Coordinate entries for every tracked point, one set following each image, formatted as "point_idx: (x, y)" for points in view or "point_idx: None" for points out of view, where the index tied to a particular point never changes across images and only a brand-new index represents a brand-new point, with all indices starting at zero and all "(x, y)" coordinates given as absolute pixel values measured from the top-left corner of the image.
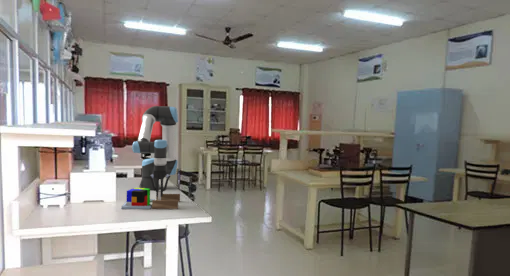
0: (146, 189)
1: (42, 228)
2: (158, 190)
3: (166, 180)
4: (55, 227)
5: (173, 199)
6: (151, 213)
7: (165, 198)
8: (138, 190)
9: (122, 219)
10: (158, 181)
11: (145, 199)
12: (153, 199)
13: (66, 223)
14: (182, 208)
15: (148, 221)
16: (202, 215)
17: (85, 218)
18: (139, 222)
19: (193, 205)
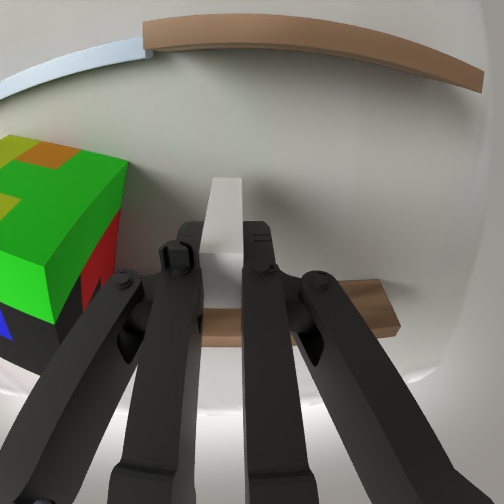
0: (33, 308)
1: (13, 394)
2: (201, 300)
3: (370, 482)
4: (26, 397)
5: (383, 64)
6: (215, 361)
7: (288, 48)
8: (5, 339)
9: (127, 396)
10: (193, 476)
11: (95, 274)
12: (130, 54)
13: (19, 385)
14: (403, 284)
15: (228, 414)
16: (432, 361)
17: (18, 366)
18: (200, 416)
19: (481, 220)
